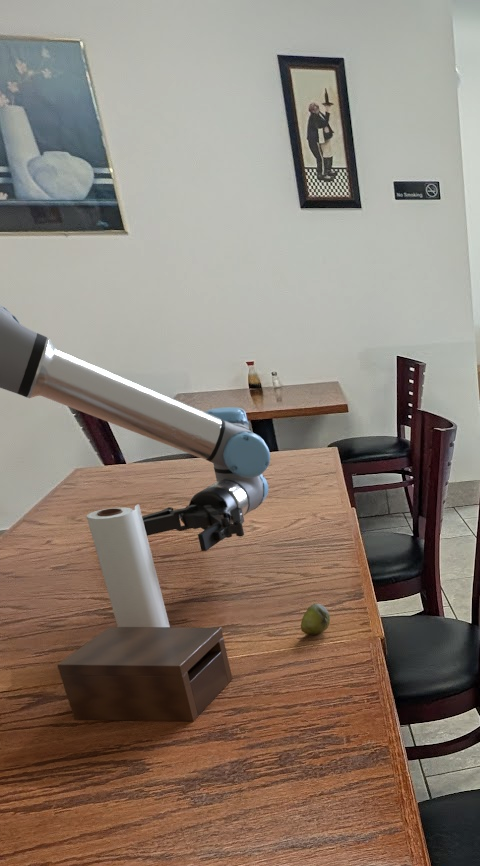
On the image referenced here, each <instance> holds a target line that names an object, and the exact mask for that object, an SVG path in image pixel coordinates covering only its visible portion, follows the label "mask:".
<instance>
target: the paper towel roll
mask: <svg viewBox="0 0 480 866" xmlns="http://www.w3.org/2000/svg"><path fill="white" fill-rule="evenodd" d="M142 514H143V513H142V510H141V506H140V503H137V504H136V505H134V509H132V508H130V507H123V506H121V507H119V506H118V507H109V508H103V509H98V510H95V511H91V512H90V513H88V514H87V515H86V520H87V524H88V527H89V530H90V534H91V538H92V541H93V544H94V548H95V552H96V555H97V559H98V563H99V566H100V570H101V574H102V576H103V580H104V583H105V588H106V591H107V594H108V598H109V601H110V605H111V609H112V612H113V615H114V619H115V622H116V627H171V625H170V622H169V617H168V614H167V610H166V606H165V601H164V598H163V595H162V590H161V586H160V582H159V577H158V574H157V570H156V567H155V563H154V558H153V554H152V549H151V545H150V542H149V539H148V536H147V534H146V530H145V526H144V522H143V518H142V516H143V515H142Z"/></svg>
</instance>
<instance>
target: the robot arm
mask: <svg viewBox="0 0 480 866" xmlns="http://www.w3.org/2000/svg"><path fill="white" fill-rule="evenodd" d="M0 389H2V390H5V391H8V392H11V393H13V394H17V395H19V396H22V397H24V398H27V399H32V398H35V397H38V396H39V397H40V396H41V397H43V398H46V399H47V400H50V401H53V402H56V403H59V404H61V405H63V406H67V407H68V408H71V409H74V410H75V411H76V410H77V411H79V412H82V413H84V414H87V415H89V416H91V417H94V418H97V419H100V420H102V421H105V422H107V423H110V424H113V425H115V426H117V427H120V428H123V429H126V430H128V431H131V432H133V433H136V434H137V435H141V436H143V437H145V438H149V439H151V440H154V441H156V442H159V443H161V444H164V445H166V446H170V447H171V448H174V449H176V450H180V451H182V452H184V453H187V454H189V455H192V456H195V457H197V458H200V459H203V460H205V461H208V462H209V463H211V464H213V470H214V475H215V479H216V482H214V483H213V484H210V485H208V486H207V487H206V488H203V489H202V490H200V491H199V492H197V493H195V494H194V495H193V496H192V497H191V499H190V501H189V503H188V505H187V506H185V507H183V508H179V509H174V507H172V506H169V507H166V508H164V509H161V510H159V511H155V512H152V513H148V514H145V515H142V518H143V522H144V526H145V530H146V534H147V537H148V536H152V535H156V534H161V533H165V532H169V531H174V530H176V531H178V532H183V531H187V530H191V529H193V530H197V529H201V530H202V531H201V532H199V533H198V534H197V538H198V541H199V547H200V551H201V552H207V551H208V550H210V549H211V548H212V547H215V545H217V544H218V543H220V542H221V541H223V540H224V539H226V538H227V539H228V538H231V537H233V535H235V534H236V535H235V536H236V537H238V538H239V537H244V536H245V532H244V527H243V524H244V522H245V517H244V516H246V515H247V514H249V513H250V512H252V511H254V510H256V509H258V508H259V506H261V505H262V504H263V502H265V500H266V499H267V497H268V494H269V483H268V481H267V479H266V477H265V476H264V472H266V470H267V469H268V468H269V466H270V461H271V452H270V449H269V447H268V444H267V443H266V442H265V440H264V439H263V438H262V437H261V436H260V435H259V434H257V433H254V432H253V431H252V430H251V429H250V422H249V421H248V416H247V413H246V411H245V410H244V409H243V408H241V407H236V406H235V407H234V406H229V407H228V406H227V407H215V408H211V409H208V410H206V411H203V410H201V409H198V408H197V407H196V408H195V407H194V406H191V405H189V404H187V403H185V402H182V401H179V400H177V399H175V398H173V397H170V396H168V395H166V394H163V393H161V392H159V391H156V390H154V389H152V388H149V387H148V386H145V385H142V384H141V383H138V382H135V381H133V380H130V379H129V378H127V377H124V376H121V375H120V374H118V373H114V372H112V371H110V370H107V369H106V368H102V367H100V366H98V365H96V364H93V363H91V362H89V361H86V360H84V359H82V358H80V357H77V356H74V355H72V354H70V353H68V352H66V351H63V350H61V349H59V348H57V347H55V345H54V343H53V342H52V340H51V339H50V337H48V336H46V335H43V334H41V333H39V332H36V331H34V330H32V329H31V328H28V327H26V326H25V325H22V324H21V323H20V321H19V320H18V319H17V317H16V316H15V315H13V314H12V313H11V311H9V310H8V309H7V308H6V307H4V306H2V305H1V304H0ZM181 523H182V524H181Z"/></svg>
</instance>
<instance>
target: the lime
mask: <svg viewBox="0 0 480 866" xmlns="http://www.w3.org/2000/svg"><path fill="white" fill-rule="evenodd" d="M330 623H331V615H330V613H329V611H328V609H327V607H326V606H325V605H323V604H320V603H313V604H311V605H310V606H309V607H308V608H307V610H305V613H304V614H303V616H302V618H301V622H300V630H301V632H302V633H304V634H306V635H311V636H316V635H320V634H322V633H323V632H325V631H326V630H327V629H328V628H329V626H330Z"/></svg>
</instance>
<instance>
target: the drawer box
mask: <svg viewBox="0 0 480 866" xmlns="http://www.w3.org/2000/svg"><path fill="white" fill-rule="evenodd" d="M225 643H226V642H225V638H224V635H223V630H222V627H200V626H199V627H190V626H188V627H186V626H185V627H183V626H181V627H180V626H178V627H177V626H175V627H174V626H170V627H118V626H108V627H107V628H106V629H104V630H103V631H102V632H100V633H99V634H97V635H96V636H94V637H93V638H92V639H91V640H89V641H88V642H87V643H85V644H83V646H81V647H79V648H78V649H77V650H76V651H74V652H73V653H71V654H69V655H68V656H67V657H66V658H64V659H63V660H62V661H60V662H59V663H57V664H56V666H57V670H58V673H59V675H60V679H61V682H62V685H63V688H64V691H65V695H66V698H67V700H68V702H69V707H70V710H71V713H72V716H73V719H74V720H80V721H136V722H137V721H138V722H139V721H142V722H143V721H144V722H145V721H146V722H147V721H148V722H150V721H151V722H195V720H196V719H198V717H199V716H200V715H201V714H202V713H203V712H204V711H205V710H206V708H207V707H208V706H209V705H210V704H211V703H212V702H213V701H214V700H215V699H216V698H217V696H219V694H220V693H221V692H222V691H223V690H224V689H225V688H226V687H227V685H229V683H230V682H231V681H232V680H233V676H232V671H231V670H232V669H231V666H230V662H229V657H228V653H227V648H226V644H225Z"/></svg>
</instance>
